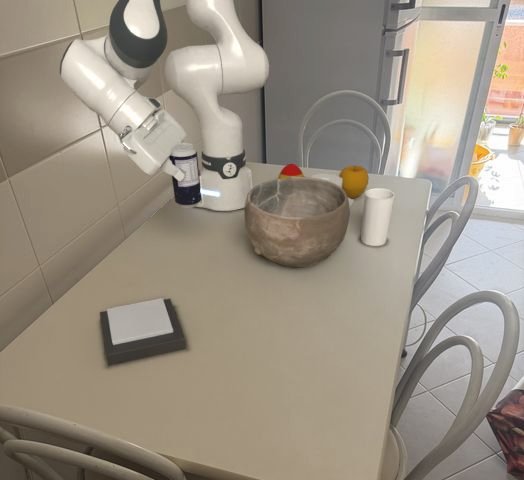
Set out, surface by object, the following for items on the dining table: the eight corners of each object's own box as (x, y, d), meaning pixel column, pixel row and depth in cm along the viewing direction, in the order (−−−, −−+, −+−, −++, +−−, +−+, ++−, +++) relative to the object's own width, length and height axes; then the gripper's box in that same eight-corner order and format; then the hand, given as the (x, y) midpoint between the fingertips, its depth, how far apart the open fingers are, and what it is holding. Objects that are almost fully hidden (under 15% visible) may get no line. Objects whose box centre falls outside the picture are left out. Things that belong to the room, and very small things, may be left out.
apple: (348, 205, 138) (351, 174, 133) (330, 195, 144) (333, 164, 138) (372, 198, 141) (376, 168, 136) (354, 189, 147) (357, 159, 142)
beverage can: (206, 200, 108) (200, 143, 100) (195, 210, 104) (188, 152, 96) (182, 197, 109) (176, 141, 102) (171, 207, 105) (162, 149, 97)
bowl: (227, 270, 112) (223, 207, 103) (266, 225, 129) (265, 168, 120) (330, 289, 105) (335, 224, 95) (356, 239, 122) (363, 180, 113)
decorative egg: (296, 206, 138) (297, 171, 132) (271, 201, 142) (271, 166, 135) (309, 196, 143) (311, 162, 137) (285, 191, 147) (286, 157, 140)
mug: (383, 248, 119) (391, 201, 111) (356, 244, 121) (362, 197, 113) (392, 231, 126) (399, 185, 118) (366, 227, 128) (372, 181, 120)
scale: (102, 321, 98) (98, 308, 96) (171, 308, 101) (169, 295, 99) (108, 365, 87) (104, 352, 85) (185, 348, 91) (183, 335, 89)
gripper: (124, 123, 87) (183, 180, 92) (159, 96, 103) (208, 145, 108) (105, 148, 91) (164, 201, 96) (142, 118, 106) (191, 165, 111)
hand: (188, 171), depth 102 cm, fingers closed on beverage can, 5 cm apart
